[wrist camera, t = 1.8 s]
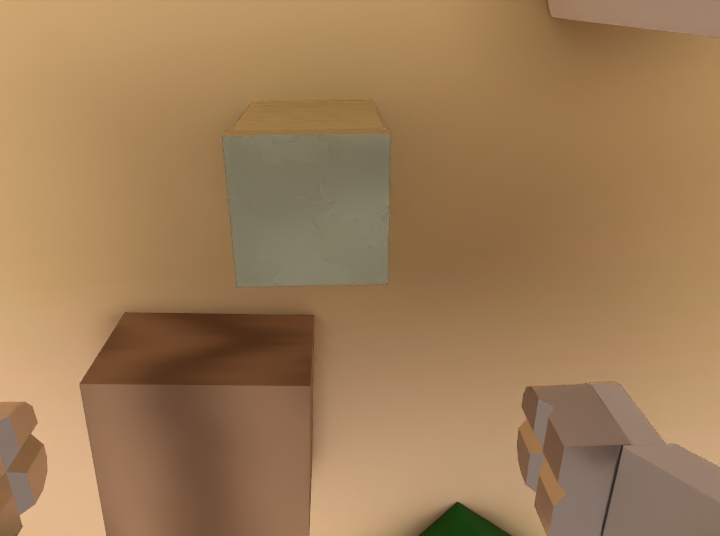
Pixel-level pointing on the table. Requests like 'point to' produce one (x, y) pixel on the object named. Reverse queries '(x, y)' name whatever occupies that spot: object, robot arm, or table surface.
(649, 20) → the milk carton
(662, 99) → the table surface
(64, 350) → the table surface
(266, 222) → the grey wooden block
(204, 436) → the walnut block
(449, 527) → the soya milk
